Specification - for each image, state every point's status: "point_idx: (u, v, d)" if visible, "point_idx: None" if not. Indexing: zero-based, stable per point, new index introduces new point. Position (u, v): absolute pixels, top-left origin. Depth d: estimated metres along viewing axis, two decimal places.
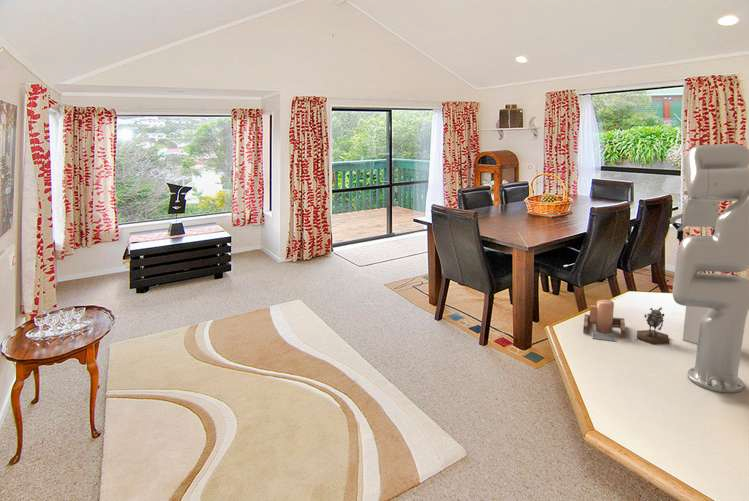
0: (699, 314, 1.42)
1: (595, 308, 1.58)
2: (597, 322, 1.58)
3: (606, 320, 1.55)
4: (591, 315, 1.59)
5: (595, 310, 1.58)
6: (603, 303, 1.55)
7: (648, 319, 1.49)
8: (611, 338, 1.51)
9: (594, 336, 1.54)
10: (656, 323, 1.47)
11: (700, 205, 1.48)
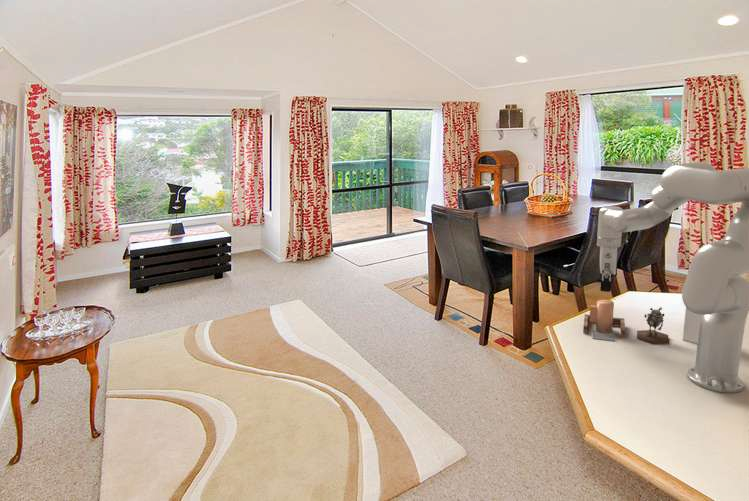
0: None
1: (595, 308, 1.58)
2: (597, 322, 1.58)
3: (606, 320, 1.55)
4: (591, 315, 1.59)
5: (595, 310, 1.58)
6: (603, 303, 1.55)
7: (648, 319, 1.49)
8: (611, 338, 1.51)
9: (594, 336, 1.54)
10: (656, 323, 1.47)
11: None
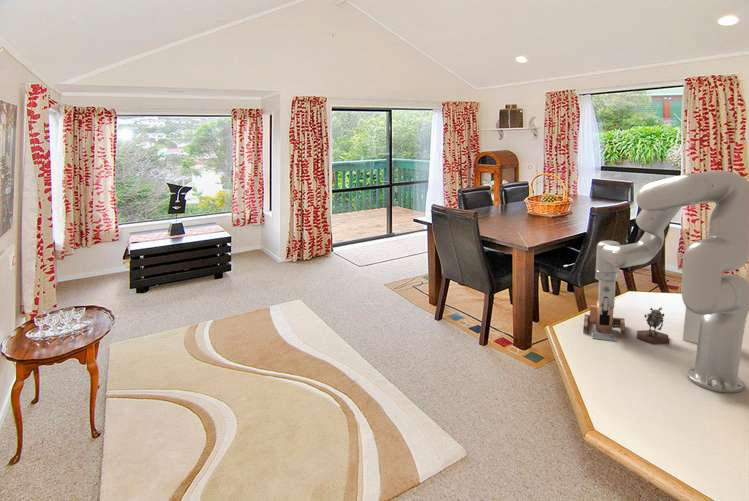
0: None
1: (595, 308, 1.58)
2: (597, 322, 1.58)
3: None
4: (591, 315, 1.59)
5: (595, 310, 1.58)
6: None
7: (648, 319, 1.49)
8: (611, 338, 1.51)
9: (594, 336, 1.54)
10: (656, 323, 1.47)
11: None
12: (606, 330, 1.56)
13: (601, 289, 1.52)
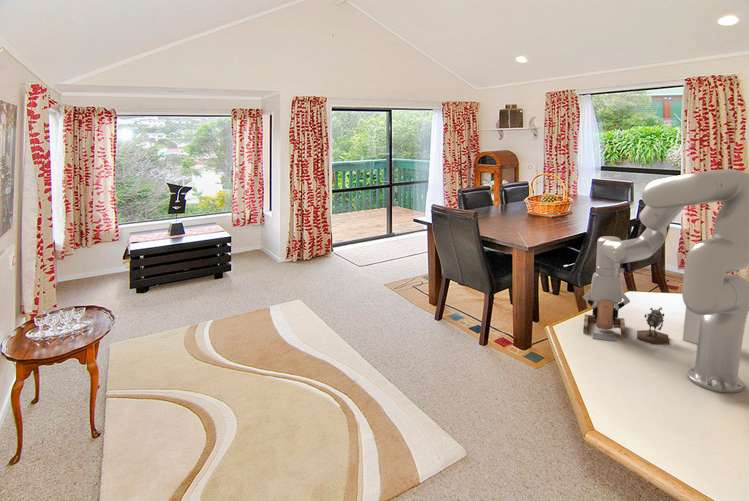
0: None
1: (607, 308, 1.53)
2: (609, 320, 1.54)
3: None
4: (607, 317, 1.52)
5: (607, 310, 1.53)
6: None
7: (648, 319, 1.49)
8: (611, 338, 1.51)
9: (594, 336, 1.54)
10: (656, 323, 1.47)
11: None
12: None
13: (621, 284, 1.50)
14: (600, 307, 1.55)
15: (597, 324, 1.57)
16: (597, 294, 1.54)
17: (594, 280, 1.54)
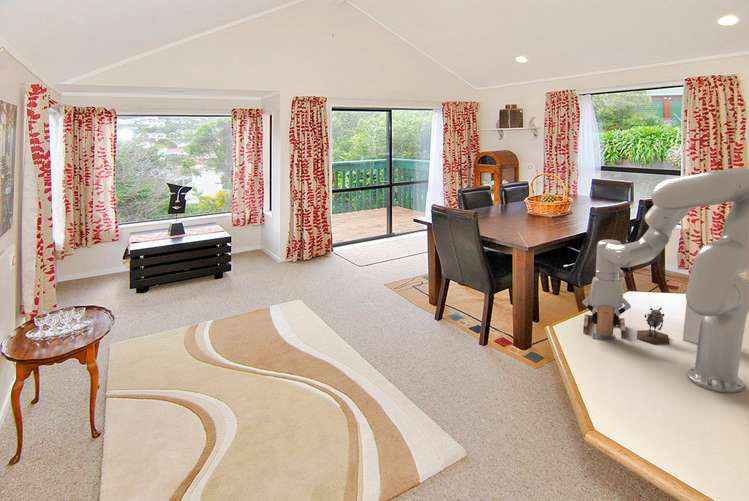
0: None
1: (608, 313, 1.48)
2: (610, 326, 1.49)
3: None
4: (607, 323, 1.47)
5: (607, 315, 1.48)
6: None
7: (648, 319, 1.49)
8: (611, 338, 1.51)
9: (594, 336, 1.54)
10: (656, 323, 1.47)
11: None
12: None
13: (622, 289, 1.45)
14: (600, 313, 1.50)
15: (597, 330, 1.52)
16: (597, 299, 1.49)
17: (594, 285, 1.49)
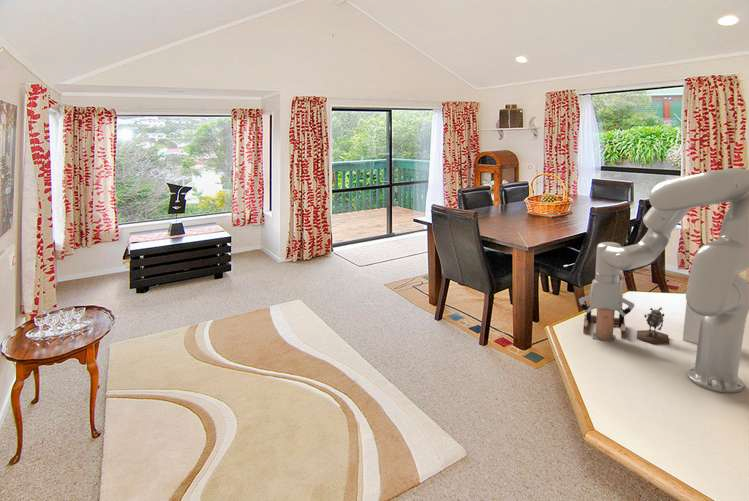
0: None
1: (607, 318, 1.48)
2: (609, 331, 1.50)
3: None
4: (607, 327, 1.48)
5: (607, 320, 1.48)
6: None
7: (648, 319, 1.49)
8: None
9: (594, 336, 1.54)
10: (656, 323, 1.47)
11: None
12: None
13: (621, 291, 1.46)
14: (600, 317, 1.50)
15: (597, 334, 1.52)
16: (596, 301, 1.49)
17: (593, 287, 1.49)
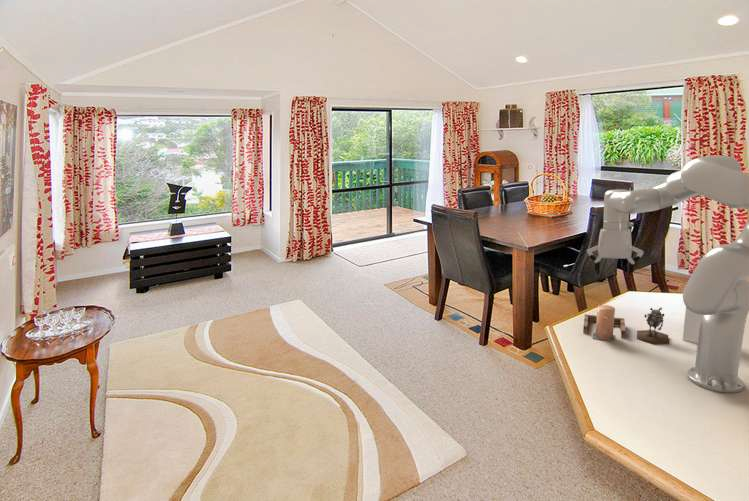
0: None
1: (607, 318, 1.48)
2: (609, 330, 1.50)
3: None
4: (607, 327, 1.48)
5: (607, 320, 1.48)
6: (611, 308, 1.49)
7: (648, 319, 1.49)
8: None
9: (594, 336, 1.54)
10: (656, 323, 1.47)
11: None
12: None
13: (630, 238, 1.44)
14: (600, 317, 1.50)
15: (597, 334, 1.52)
16: (605, 250, 1.48)
17: (602, 236, 1.47)
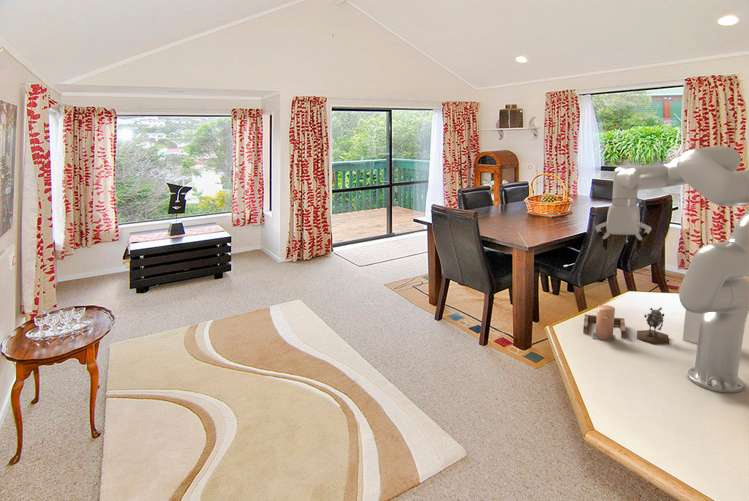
0: (699, 314, 1.42)
1: (607, 318, 1.48)
2: (609, 331, 1.50)
3: None
4: (607, 327, 1.48)
5: (607, 320, 1.48)
6: (611, 309, 1.49)
7: (648, 319, 1.49)
8: None
9: (594, 336, 1.54)
10: (656, 323, 1.47)
11: None
12: None
13: (639, 215, 1.46)
14: (600, 317, 1.50)
15: (597, 334, 1.52)
16: (613, 227, 1.50)
17: (610, 212, 1.50)
